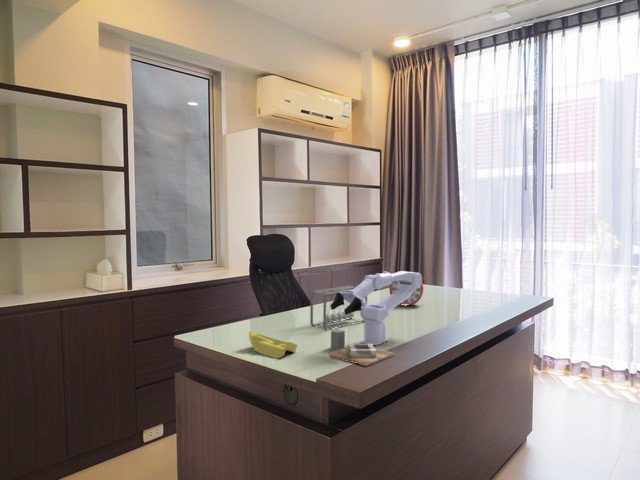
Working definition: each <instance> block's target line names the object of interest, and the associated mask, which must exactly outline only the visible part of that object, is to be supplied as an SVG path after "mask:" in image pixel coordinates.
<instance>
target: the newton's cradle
mask: <svg viewBox="0 0 640 480" xmlns="http://www.w3.org/2000/svg"><path fill="white" fill-rule="evenodd" d="M355 287H356V286H353V285H346V286H339V287H332V288H325V289H316V290H313V291H312V292H311V293H310V325H311V326H312V327H313V326H315V327H317V326H316V325H320V324H323V325H322V326H321V325H320V326H318V328H320V327H322V328H321V329H323V330H324V331H328V330H327V329H331V330H333V329H332V328H335V327H339V326H343V325H348V324H352V323H357V322H362V321H363V319H362V320H361V319H360V320H361V321H359V320H357V321H352V322H348V323H343V324H338V325H334V326H333V325H332V326H329V327H327V326H326V325H327V324H326V323H329V322H333V321H337V320H341V319H346V318H351V317H353V318H354V315H355V312H352V313H349V314H347V315H346V314H345V311H344V310H343V311H342V312H341V310H342V308H340V306H338V307H337V309H339V311H338V312H337V313H336V312H335V310H332V313H331V314H329V313H330V312H327V307H328V306H327V305H328V303H327V297H328V296H330V298H333V297H332V296H333V295H335V296H336V294H337V293H338V292H339V293H340V292H341V293H344V292H349V290H353V289H354V288H355ZM332 291H333V292H332ZM314 294H322V295H323V315H322V317H323V318H322V319H323V321H322V322H319V323H314ZM364 300H366V302H367V303H368V296H366V297H365V298H364ZM329 302H330V303H329V304H332V303H331V302H332V300H330V301H329ZM347 304H348V303H346V304H345V307H348V305H347ZM328 310H331V306H329V309H328ZM362 323H363V322H362ZM329 324H330V323H329ZM335 329H336V328H335Z"/></svg>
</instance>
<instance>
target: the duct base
mask: <svg viewBox="0 0 640 480" xmlns="http://www.w3.org/2000/svg"><path fill="white" fill-rule="evenodd" d="M394 353H395V352H390V351H387V350H382V349H380V348H379V349H378V348H375V346H373V344H364V343H348V347H345V348H342V349H339V350H336V351H333V352H330V353H329V354H328V356H329V357H330V356H331V358H334V357H335V358H334V359H337V358H339V359H338V360H341V359H344V360H348V361H353V362H361V363H363V362H364V363H365V364H369V363H371V362H374V361H377V360H380V359H382V358H385V357H387V356H390V355H392V354H394ZM394 355H395V354H394ZM344 360H343V361H344ZM348 361H347V362H348ZM366 362H367V363H366Z"/></svg>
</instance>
